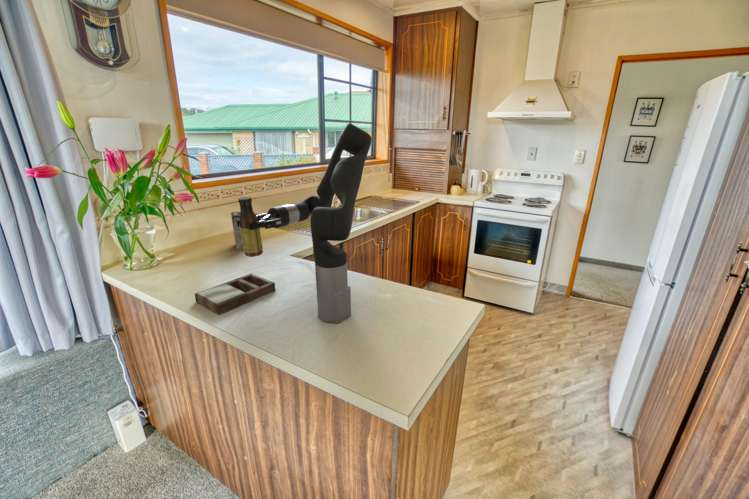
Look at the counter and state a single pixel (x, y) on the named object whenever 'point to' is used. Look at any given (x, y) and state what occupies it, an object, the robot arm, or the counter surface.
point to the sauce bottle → (249, 237)
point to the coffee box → (237, 229)
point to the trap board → (234, 293)
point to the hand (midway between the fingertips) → (243, 225)
